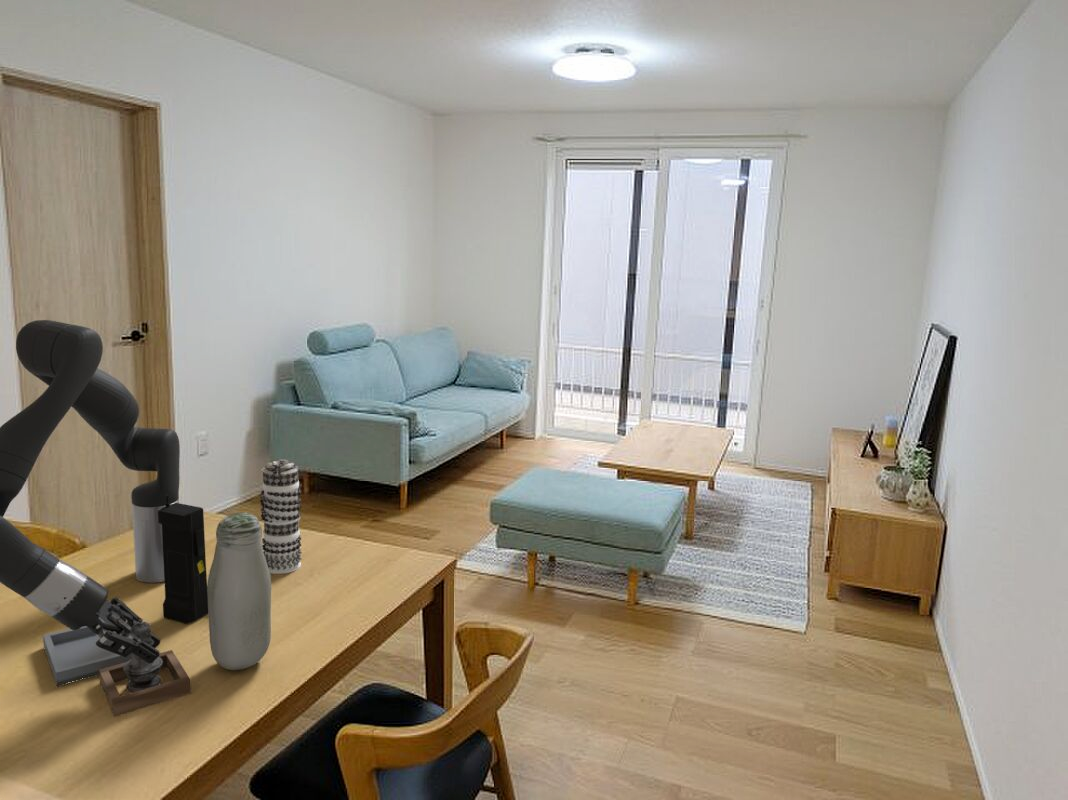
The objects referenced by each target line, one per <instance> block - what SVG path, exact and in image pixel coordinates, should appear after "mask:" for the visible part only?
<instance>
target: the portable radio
mask: <svg viewBox="0 0 1068 800" xmlns="http://www.w3.org/2000/svg"><path fill="white" fill-rule="evenodd" d="M165 496H166V502H167V503H166V504H165V505H166V507H163V508H161V509H160V510H159V511H158V523H159V524H162V539H163V560H164V580H165V581H164V601H163V603H162V614H163V618H164V619H166V620H170V621H174V622H176V623H177V622H178V623H181V624H185V625H188V624H191V623H194V622H196V621H197V620H199V619H202V618H203V617H205V616H206V615H208V592H207V583H208V577H207V576H208V575H207V560H206V538H205V535H206V534H205V521H204V520H205V518H204V508H203V507H200V506H195V505H189V504H184V503H181V502H179V503H173V504H171V505H170V504H169V503H168V496H169V495H165Z"/></svg>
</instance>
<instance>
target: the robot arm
mask: <svg viewBox="0 0 1068 800" xmlns="http://www.w3.org/2000/svg"><path fill="white" fill-rule="evenodd" d="M103 349H104V347H103V341H102V338H101V336H100V334H99V333H98V332H97V331H96V330H94V329H92V328H89V327H87V326H83V325H82V326H81V325H77V324H71V323H66V322H62V321H61V322H60V321H56V320H50V319H38V320H33V321H30V322H28V323H26V324H25V325H24V326H22V327H21V329H20V330H19V331H18V334H17V335H16V340H15V351H16V354H17V358H18V360H19V361H20V363H21V364H22V366H23V368H24V369H25V370H26V371H28V372H29V373H30V374H31V375H33V376H35V377H36V378H37V379H39V380H40V381H42V382H43V383H45V384H46V385H47V386H48V387H47V388H46V390H45V391H44V392H43V393H42V394H41V395H40V396H38V397H37V398H36V399H35V400H34V401H33V402H32V403H30V404H29V405H28V406H26V407H25V408H23V409H22V410H21V411H20V412H18V413H17V414H15V415H14V416H12V417H11V418H10V419H8V420H7V421H6V422H4V423H3V424H2V425H1V426H0V583H1V584H2V585H4V586H5V587H6V588H7V589H10V590H12V591H13V592H15V593H16V594H17V595H19V596H20V597H23V598H24V599H25V600H27V601H28V602H29V603H30V604H31V605H32V606H34V608H36V609H38V610H39V611H41V612H43V613H44V614H46V615H48V617H50V618H52V619H54V620H55V621H57V622H59V623H61V624H62V625H63V626H65V627H66V628H68V629H71V630H78V629H80V628H81V627H84V626H87V627H88V628H89V629H90V630H91V631H92V632H93V633H95V634H96V635H97V636H98V637H99V638H100V639H99V640H98V641H97V642H96V645H97V646H98V647H100V648H102V649H105V650H107V651H110V652H113V653H115V654H118V655H121V656H123V657H127V656H128V655H129V654H131V653H133V654H135V655H137V656H138V657H140V658H141V659H143V660H144V661H146V662H148V663H153V662H154V661H155V660H156V659H157V658H158V657H159V654H160V653H161V652H160V650H158V649H157V647H158V646H159V645H160V644H161V639H160V637H158V636H156V635H155V634H153V633H152V632H151V639H153V640H154V644H153V645H152V646H151V645H149V644H148V643H146V642H144V641H143V640H141V639H140V638H139V637H137V636H136V635H135V634H134V633H132V627H133V625H134V624H136V623H138V622H139V621H138V620H139V619H140V618H141V617H140V616H139V615H138V614H136V612H134V611H133V610H132V609H131V608H130V607H128V606H127V605H126V604H125V603H124V602H123V601H122V600H121V599H120V598H119V597H117V596H113V597H112V598H111V599H110V600H107V599H108V598H109V593H110V592H109V589H108V588H106V587H105V586H103V585H102V584H100V583H99V582H97V581H96V580H94V578H91V577H90V576H89V575H87V574H86V573H84V572H83V571H81V570H80V569H78V568H76V567H75V566H73V565H71V564H69V563H67V562H65V561H63V560H61V559H60V558H58V557H57V556H56V555H54V554H52V553H50V552H49V551H47V550H46V549H44V548H43V547H41V546H40V545H38V544H36V543H34V542H33V541H31V540H30V539H29V538H28V537H27V536H26V535H25V534H23V532H21V530H19V529H18V528H17V527H16V526H15V525H14V524H12V523H11V522H10V521H9V520H7V519H6V518H4V516H5V514H6V512H7V510H8V508H9V506H10V504H11V502H12V501H13V500H15V498H16V497H17V496H19V494H20V492H21V491H22V489H23V488H24V486H25V484H26V482H27V481H28V478H29V475H30V474H31V472H32V469H34V466H35V464H36V462H37V459H38V458H39V455H40V454H41V452H42V450H43V448H44V446H45V445H46V443H47V441H48V440H49V439H50V437H51V435H52V434H53V432H54V431H55V430H56V428H57V427H58V425H59V424H60V422H61V421H62V420H63V419H64V418H65V416H66V414H67V413H68V412H69V411H70V410H71V408H72V409H74V410H75V412H77V414H78V415H79V416H80V417H81V419H83V421H85V422H86V423H87V424H88V425H89V426H90V427H91V428H92V429H93V430H95V431H96V432H97V433H98V435H99V436H101V438H102V439H103V440H104V441H105V442H106V443H107V444H108V445H109V446H110V448H111V449H112V451H113V453H114V454H115V456H116V457H117V458H118V460H119V461H120V462H121V464H122V465H123V466H124V467H125V468H127V469H128V470H132V471H136V472H156V474H157V475H156V479H154V480H151V481H148V482H145V483H143V484H140V485H137V486H135V487H134V488H133V489H132V491H131V495H130V496H131V513H132V514H131V515H132V526H133V529H132V530H133V531H132V532H133V547H134V565H135V577H136V579H137V580H138V581H140V582H143V583H160V582H161V583H162V582H165V580H164V560H163V539H162V524H159V523H158V511H159V510H160V509H161V508H163V507H166V505H165V504H166V503H167V502H166V496H165V495H169V496H168V503H169V504H170V505H171V504H173V503H180V496H179V495H180V494H179V492H180V491H179V490H180V455H181V454H180V453H181V452H180V449H181V448H180V439H179V436H178V434H177V432H176V431H175V430H174V429H172V428H154V427H153V428H152V427H138V426H136V423H137V422H138V419H139V417H140V416H139V415H140V407H139V403H138V401H137V400H136V398H135V395H133V394H132V393H131V391H130V390H129V389H128V388H127V387H126V386H125V384H123V383H122V382H121V381H120V380H119V379H117V378H116V377H114V376H113V375H110V373H107V372H105V371H103V370H101V369H100V368H98V367H99V365H100V363H101V360H102V356H103V352H104V351H103ZM124 618H125V619H124ZM120 634H122V635H120ZM126 637H129V638H130V639H129V638H126ZM121 648H122V649H121Z"/></svg>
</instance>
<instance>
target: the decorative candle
mask: <svg viewBox="0 0 1068 800" xmlns="http://www.w3.org/2000/svg"><path fill="white" fill-rule="evenodd" d="M299 470H300V467H299V466H298V465H296V464H295V463H294V462H293V461H291V460H288V459H275V460H271V461H269V462H267V463H266V464H265V466H263V467H262V468H261V472H262V490H261V491H260V493H259V497H260V499H259V502H260V505H261V508H260V512H261V514H260V517H261V520H262V522H263V523H264V524H263V525H264V530H262V534H263V537H262V547H263V553H264V556H265V559H266V562H267V566H268V569H269V573H270V574H273V575H274V574H275V575H282V574H289V573H292V572H295V571H297V570H299V569H300V568H301V566H302V563H301V560H302V557H301V554H302V553H303V552H302V551H301V548H300V547H301V546H302V544H301V540H302V537H301V535H300V534H301V533H300V527H299V526H300V523H299V522H300V521H299V520H301V516H302V514H301V513H300V512H299V511H300V510H301V509H302V508H303V506H302V504H301V502H302V501H303V500H302V499H301V498H300V497H299V496H300V495H302V494H303V491H302V490H301V488H302V487H303V485H302V483H301V482H300V481H299Z"/></svg>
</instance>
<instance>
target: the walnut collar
mask: <svg viewBox="0 0 1068 800" xmlns="http://www.w3.org/2000/svg"><path fill="white" fill-rule="evenodd" d="M159 657H160V658H161V659H162V660H163V663H162V665H161V668H160V670H161V671H162V670H164V669H167V670H168V672H169V674H170V675H171V677H172V679H173V680H171V681H168V682H163V683H162V684H160V685H157V686H154V687H150V688H147V689H144V690H140V691H137V692H134V693H133V692H130V693H127V694H125V695H120V692H119V691H118V688H117V686H116V684H115V682H116V683H119V682H121V681H122V680H123V681H125V680H129V679H128V677H127V675H126V673H125V672H124V670H123V666H124V665H125V664H126V663H127V662H126V663H122V664H118V665H114V666H111V667H107V668H103V669H100V670H99V675H98V677H99V684H100V687H101V686H102V687H101V688H102V691H103V693H105V694H104V696H105V698H106V700H107V703H108V705H109V708H110V710H111V712H112V713H113V717H114V718H116V717H118V716H121V714H122V715H125V714H128V712H129V713H131V712H134V711H139V710H140V709H145V708H147V707H151V706H154V705H158V704H160V703H164V702H167V701H170V700H174V699H177V698H180V696H181V697H183V696H186V695H190V694H192V685H191V684H192V683H191V682H192V681H191V678H190V676H189V674H188V673H187V672H186V670H185V668H184V667H183V665H182V664H181V662H180V661H179V659H178V657H177V655H176V654H175V653H174V650H173V649H171V650H166V651H162V652H160V654H159ZM118 681H119V682H118ZM115 716H116V717H115Z"/></svg>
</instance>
